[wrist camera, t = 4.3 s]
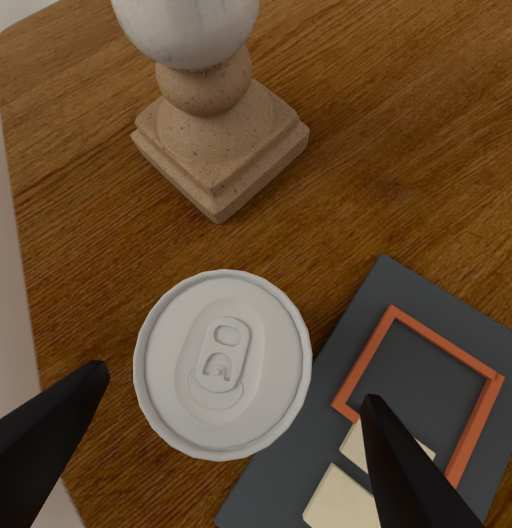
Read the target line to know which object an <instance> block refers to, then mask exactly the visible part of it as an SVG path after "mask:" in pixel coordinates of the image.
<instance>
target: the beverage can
mask: <svg viewBox="0 0 512 528" xmlns="http://www.w3.org/2000/svg"><path fill="white" fill-rule="evenodd" d="M311 371H312V349H311V343H310V338H309V333H308V329H307V327H306V325H305V323H304V321H303V319H302V317H301V314H300V312H299V310H298V309H297V308H296V306H295V305H294V304H293V303H292V301H291V300H290V299H289V298H288V297H287V295H286V294H285V293H284V292H283V291H281V290H280V289H278V288H277V287H276V286H274V285H273V284H271V283H270V282H269V281H267V280H266V279H264V278H261V277H258V276H256V275H253V274H251V273H248V272H245V271H237V270H227V269H221V270H214V271H208V272H202V273H200V274H197V275H195V276H193V277H190V278H188V279H185V280H183V281H181V282H180V283H179V284H177V285H176V286H175V287H173V288H172V289H171V290H169V291H168V292H167V293H165V294H164V295H163V296H162V298H161V299H160V300H159V301H158V302H157V304H156V305H155V306H154V307H153V308H152V310H151V311H150V312H149V314H148V316H147V318H146V320H145V322H144V324H143V326H142V328H141V330H140V332H139V335H138V339H137V343H136V347H135V352H134V356H133V382H134V386H135V390H136V394H137V398H138V401H139V405H140V408H141V409H142V411H143V413H144V415H145V416H146V418H147V420H148V422H149V423H150V425H151V427H152V429H154V430H155V431H156V432H157V433H158V434H159V435H160V436H161V437H162V438H163V439H164V440H165V441H166V442H167V443H168V444H169V445H170V446H172V447H174V448H175V449H177V450H179V451H181V452H183V453H185V454H187V455H189V456H191V457H193V458H198V459H205V460H211V461H217V462H221V461H228V460H234V459H241V458H246V457H248V456H250V455H252V454H254V453H256V452H258V451H260V450H262V449H264V448H266V447H268V446H270V445H271V444H272V443H273V442H274V441H275V440H276V439H277V438H278V437H280V436H281V435H282V434H283V433H284V432H285V431H286V430H287V429H288V428H289V427H290V425H291V424H292V422H293V421H294V419H295V417H296V416H297V414H298V413H299V411H300V409H301V408H302V406H303V404H304V400H305V397H306V394H307V391H308V388H309V385H310V382H311Z"/></svg>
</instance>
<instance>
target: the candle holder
mask: <svg viewBox="0 0 512 528" xmlns="http://www.w3.org/2000/svg"><path fill="white" fill-rule="evenodd" d="M110 1H111V4H112V7H113V10H114V13H115V16H116V18H117V21H118V23H119V25H120V27H121V28H122V30H123V32H124V33H125V35H126V36H127V38H128V39H129V40H130V42H131V43H132V44H133V45H134V46H135V47H136V48H137V49H138V50H139V51H140V52H141V53H143V54H144V55H145V56H147V57H148V58H150V59H151V60H153V61H154V62H156V68H155V71H156V79H157V83H158V85H159V88H160V90H161V92H162V93H163V95H162V96H161V97H160V98H159V99H157V100H156V101H155V102H153V103H152V104H151V105H150V106H148V107H147V108H146V109H145V110H144V111H143V112H142V113H140V114H139V115H138V116H137V118H136V120H135V122H134V123H135V124H136V126H137V129H136V130H135V131H134V132H133V133H132V134H131V135H130V136H131V138H132V140H133V142H134V143H135V145H136V146H137V148H138V149H139V151H140V152H141V154H142V155H143V156H144V157H145V158H146V159H147V160H148V161H149V162H150V163H151V164H152V165H153V166H154V167H155V168H156V169H157V170H158V171H159V172H160V173H161V174H162V175H163V176H164V177H165V178H167V179H168V180H169V181H170V182H171V183H172V184H173V185H174V186H175V187H176V188H177V189H178V190H179V191H180V192H181V193H182V194H183V195H184V196H186V197H187V198H188V199H189V200H190V201H191V202H192V203H193V204H194V205H195V206H196V207H197V208H198V209H199V210H200V211H201V212H202V213H204V214H205V215H206V216H207V217H208V218H209V219H211V220H212V221H213V222H214V223H216V224H218V225H219V224H221V223H223V222H225V221H226V220H227V219H228V218H230V217H231V216H232V215H233V214H234V213H236V212H237V211H238V210H239V209H240V208H241V207H242V206H243V205H245V204H246V203H247V202H248V201H249V200H250V199H251V198H252V197H253V196H255V195H256V194H257V193H258V192H259V191H260V190H261V189H262V188H263V187H265V186H266V185H267V184H268V183H269V182H270V181H271V180H272V179H273V178H275V177H276V176H277V175H278V174H279V173H280V172H281V171H282V170H283V169H284V168H286V167H287V166H288V165H289V164H290V163H291V162H292V161H293V160H294V159H296V158H297V157H298V156H299V155H300V154H301V153H302V152H303V150H304V149H305V148H306V147H307V144H308V138H309V133H310V129H309V128H308V127H307V126H306V125H305V124H304V123H302V122H301V121H300V120H299V116H298V114H297V113H296V112H295V110H294V109H293V108H291V107H290V106H289V105H288V104H287V103H286V102H285V101H283V100H282V99H281V98H279V97H278V96H277V95H275V94H274V93H273V92H271V91H270V90H269V89H267V88H266V87H265V86H263V85H262V84H261V83H259V82H258V81H257V80H255V79H254V78H252V71H253V69H252V60H251V57H250V54H249V51H248V49H247V47H246V46H245V44H244V43H245V42H246V41H247V39H248V38H249V36H250V34H251V32H252V31H253V29H254V27H255V24H256V21H257V17H258V13H259V8H260V0H110Z"/></svg>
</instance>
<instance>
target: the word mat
mask: <svg viewBox="0 0 512 528" xmlns="http://www.w3.org/2000/svg"><path fill="white" fill-rule="evenodd" d="M368 393H369V394H377V395H380V396H381V397H382V398H383V399H384V401H385V402H386V403H387V404H388V406H389V407H390V408H391V409H392V411H393V412H394V413H395V414H396V416H397V417H398V418H399V419H400V421H401V422H402V423H403V425H404V426H405V427H406V428H407V430H408V431H409V432H410V433H411V435H412V436H413V437H414V438H415V440H416V441H417V442H418V443H419V445H420V446H421V447H422V448H423V450H424V451H425V452H426V453H427V455H428V456H429V457H430V458H431V460H432V461H433V462H434V463H435V465H436V466H437V467H438V468H439V470H440V471H441V472H442V473H443V475H444V476H445V477H446V478H447V480H448V481H449V482H450V483H451V485H452V486H453V487H454V488H455V490H456V491H457V492H458V493H459V495H460V496H461V497H462V498H463V500H464V501H465V502H466V503H467V505H468V506H469V507H470V508H471V510H472V511H473V512H474V513H475V515H476V516H477V517H478V518H479V520H480V521H481V522H482V523H484V521H485V518H486V516H487V514H488V511H489V509H490V506H491V504H492V501H493V499H494V496H495V494H496V491H497V489H498V487H499V484H500V482H501V479H502V477H503V474H504V472H505V469H506V467H507V465H508V462H509V460H510V457H511V455H512V331H511V330H509V329H507V328H506V327H504V326H502V325H501V324H499V323H498V322H496V321H494V320H493V319H491V318H489V317H488V316H486V315H484V314H483V313H481V312H479V311H478V310H476V309H474V308H473V307H471V306H469V305H468V304H466V303H464V302H463V301H461V300H459V299H458V298H456V297H454V296H453V295H451V294H449V293H448V292H446V291H444V290H443V289H441V288H439V287H438V286H436V285H435V284H433V283H431V282H430V281H428V280H426V279H425V278H423V277H421V276H420V275H418V274H416V273H415V272H413V271H411V270H410V269H408V268H406V267H405V266H403V265H401V264H400V263H398V262H396V261H395V260H393V259H391V258H390V257H388V256H386V255H385V254H381V255H380V256H379V258H378V259H377V261H376V262H375V264H374V265H373V267H372V269H371V270H370V272H369V273H368V275H367V277H366V278H365V280H364V281H363V283H362V284H361V286H360V288H359V289H358V291H357V292H356V294H355V296H354V297H353V299H352V300H351V302H350V303H349V305H348V307H347V308H346V310H345V311H344V313H343V315H342V316H341V318H340V319H339V321H338V322H337V324H336V326H335V327H334V329H333V330H332V332H331V334H330V335H329V337H328V338H327V340H326V341H325V343H324V345H323V346H322V348H321V349H320V351H319V353H318V354H317V356H316V357H315V359H314V361H313V362H312V371H311V382H310V385H309V388H308V391H307V394H306V397H305V400H304V404H303V406H302V408H301V409H300V411H299V413H298V414H297V416H296V417H295V419H294V421H293V422H292V424H291V425H290V427H289V428H288V429H287V430H286V431H285V432H284V433H283V434H282V435H281V436H280V437H278V438H277V439H276V440H275V441H274V442H273V443H272V444H271V445H270V446H268V447H266V448H264V449H262V450H260V451H258V452H256V453H255V454H254V456H253V457H252V459H251V460H250V462H249V464H248V465H247V467H246V468H245V470H244V471H243V473H242V475H241V476H240V478H239V479H238V481H237V483H236V484H235V486H234V487H233V489H232V490H231V492H230V494H229V495H228V497H227V498H226V500H225V502H224V503H223V505H222V506H221V508H220V509H219V511H218V513H217V514H216V516H215V519H214V523H215V524H216V525H217V526H218V527H219V528H381V526H380V522H379V517H378V513H377V509H376V504H375V500H374V496H373V492H372V487H371V483H370V479H369V474H368V469H367V464H366V457H365V449H364V442H363V434H362V427H361V420H360V408H361V405H362V402H363V400H364V397H365V395H366V394H368Z"/></svg>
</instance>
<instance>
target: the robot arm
mask: <svg viewBox="0 0 512 528" xmlns="http://www.w3.org/2000/svg"><path fill="white" fill-rule="evenodd" d="M109 381H110V374H109V371H108V368H107V365H106V363H105V362H104V361H100V360H91V361H89V362H88V363H86V364H85V365H83V366H82V367H80V368H78V369H77V370H75V371H74V372H72V373H71V374H69V375H68V376H66V377H64V378H63V379H61V380H60V381H58V382H57V383H55V384H54V385H52V386H50V387H49V388H47V389H46V390H44V391H43V392H41V393H40V394H38V395H37V396H35V397H34V398H32V399H30V400H29V401H27V402H26V403H24V404H23V405H21V406H19V407H18V408H16V409H15V410H13V411H12V412H10V413H9V414H7V415H6V416H4V417H3V418H1V419H0V528H30V527H31V525H32V524H33V522H34V520H35V518H36V517H37V515H38V513H39V512H40V510H41V508H42V506H43V504H44V503H45V501H46V499H47V498H48V496H49V494H50V493H51V491H52V489H53V487H54V486H55V484H56V482H57V481H58V479H59V477H60V475H61V474H62V472H63V470H64V468H65V467H66V465H67V463H68V462H69V460H70V458H71V456H72V455H73V453H74V451H75V449H76V448H77V446H78V444H79V443H80V441H81V439H82V437H83V436H84V434H85V432H86V430H87V428H88V426H89V424H90V422H91V420H92V418H93V416H94V414H95V412H96V410H97V408H98V405H99V403H100V401H101V399H102V397H103V395H104V393H105V390H106V388H107V386H108V384H109ZM360 420H361V427H362V434H363V442H364V449H365V457H366V464H367V469H368V474H369V479H370V483H371V487H372V492H373V496H374V500H375V504H376V509H377V513H378V517H379V522H380V526H381V528H486V527H485V526H484V525H483V523H482V522H481V521H480V520H479V518H478V517H477V516H476V515H475V513H474V512H473V511H472V510H471V508H470V507H469V506H468V505H467V503H466V502H465V501H464V500H463V498H462V497H461V496H460V495H459V493H458V492H457V491H456V490H455V488H454V487H453V486H452V485H451V483H450V482H449V481H448V480H447V478H446V477H445V476H444V475H443V473H442V472H441V471H440V470H439V468H438V467H437V466H436V465H435V463H434V462H433V461H432V460H431V458H430V457H429V456H428V455H427V453H426V452H425V451H424V450H423V448H422V447H421V446H420V445H419V443H418V442H417V441H416V440H415V438H414V437H413V436H412V435H411V433H410V432H409V431H408V430H407V428H406V427H405V426H404V425H403V423H402V422H401V421H400V419H399V418H398V417H397V416H396V414H395V413H394V412H393V411H392V409H391V408H390V407H389V406H388V404H387V403H386V402H385V401H384V399H383V398H382V397H381V396H380V395H377V394H369V393H368V394H366V395H365V397H364V400H363V402H362V405H361V408H360Z"/></svg>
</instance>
